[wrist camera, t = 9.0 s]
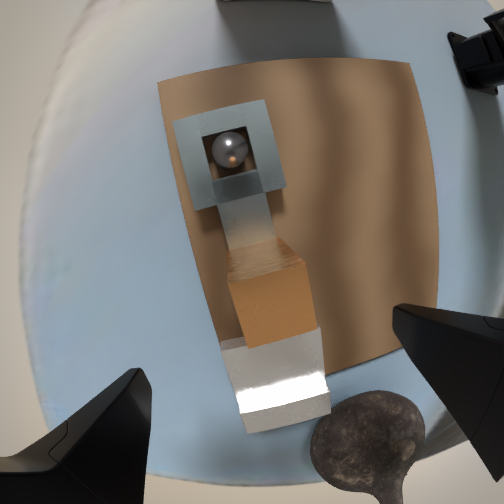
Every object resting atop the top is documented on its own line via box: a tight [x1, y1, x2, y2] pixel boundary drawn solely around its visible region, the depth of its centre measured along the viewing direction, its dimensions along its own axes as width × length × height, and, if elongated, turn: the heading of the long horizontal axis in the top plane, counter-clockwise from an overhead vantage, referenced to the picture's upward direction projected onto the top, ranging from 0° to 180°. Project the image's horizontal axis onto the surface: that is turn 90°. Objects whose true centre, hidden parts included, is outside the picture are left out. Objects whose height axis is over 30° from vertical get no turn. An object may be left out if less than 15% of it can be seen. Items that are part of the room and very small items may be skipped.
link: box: [172, 99, 317, 349], centre depth 14 cm, size 17×5×7 cm, turn 15°
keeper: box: [221, 321, 331, 434], centre depth 18 cm, size 6×7×5 cm
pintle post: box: [212, 132, 248, 169], centre depth 15 cm, size 2×2×3 cm
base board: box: [157, 58, 439, 375], centre depth 19 cm, size 19×24×1 cm
